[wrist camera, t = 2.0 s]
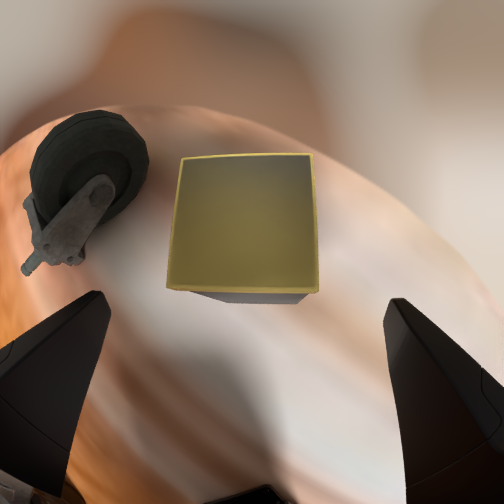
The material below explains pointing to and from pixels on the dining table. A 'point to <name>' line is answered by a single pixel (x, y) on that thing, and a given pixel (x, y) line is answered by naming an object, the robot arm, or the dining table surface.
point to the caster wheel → (81, 183)
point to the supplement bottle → (69, 498)
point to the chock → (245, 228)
